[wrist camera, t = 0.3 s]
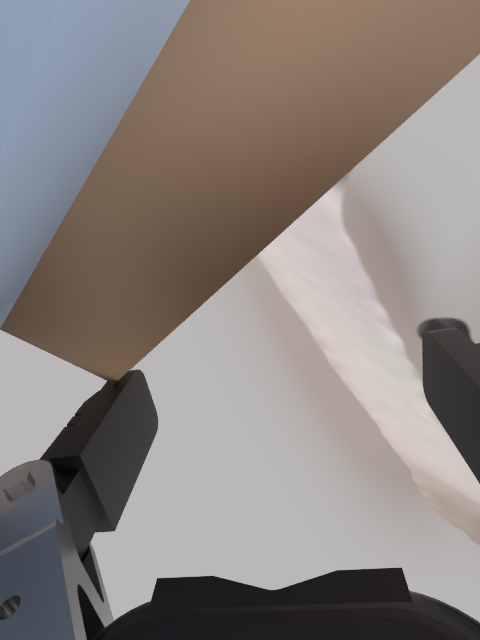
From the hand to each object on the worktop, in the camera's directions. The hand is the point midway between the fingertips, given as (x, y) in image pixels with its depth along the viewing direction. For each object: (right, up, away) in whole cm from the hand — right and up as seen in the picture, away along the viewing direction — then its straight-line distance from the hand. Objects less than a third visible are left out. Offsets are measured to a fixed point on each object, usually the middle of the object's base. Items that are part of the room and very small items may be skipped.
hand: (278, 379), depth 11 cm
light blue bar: (+2, +10, -11) cm, 15 cm away
